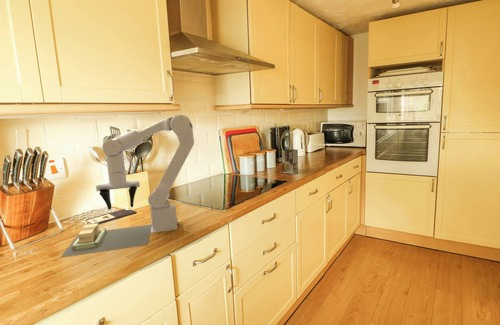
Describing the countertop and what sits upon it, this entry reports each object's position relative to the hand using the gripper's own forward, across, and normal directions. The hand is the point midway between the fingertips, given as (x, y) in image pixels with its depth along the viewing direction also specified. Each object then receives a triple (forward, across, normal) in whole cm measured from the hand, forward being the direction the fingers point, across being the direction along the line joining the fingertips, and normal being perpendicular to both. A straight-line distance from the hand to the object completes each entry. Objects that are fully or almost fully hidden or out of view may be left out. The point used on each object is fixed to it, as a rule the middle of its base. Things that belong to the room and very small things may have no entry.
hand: (121, 207), depth 109 cm
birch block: (+9, +10, +6) cm, 15 cm away
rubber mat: (+9, +3, +7) cm, 12 cm away
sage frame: (+9, +10, +6) cm, 15 cm away
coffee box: (+10, -96, -71) cm, 120 cm away
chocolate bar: (+10, +8, -20) cm, 24 cm away
